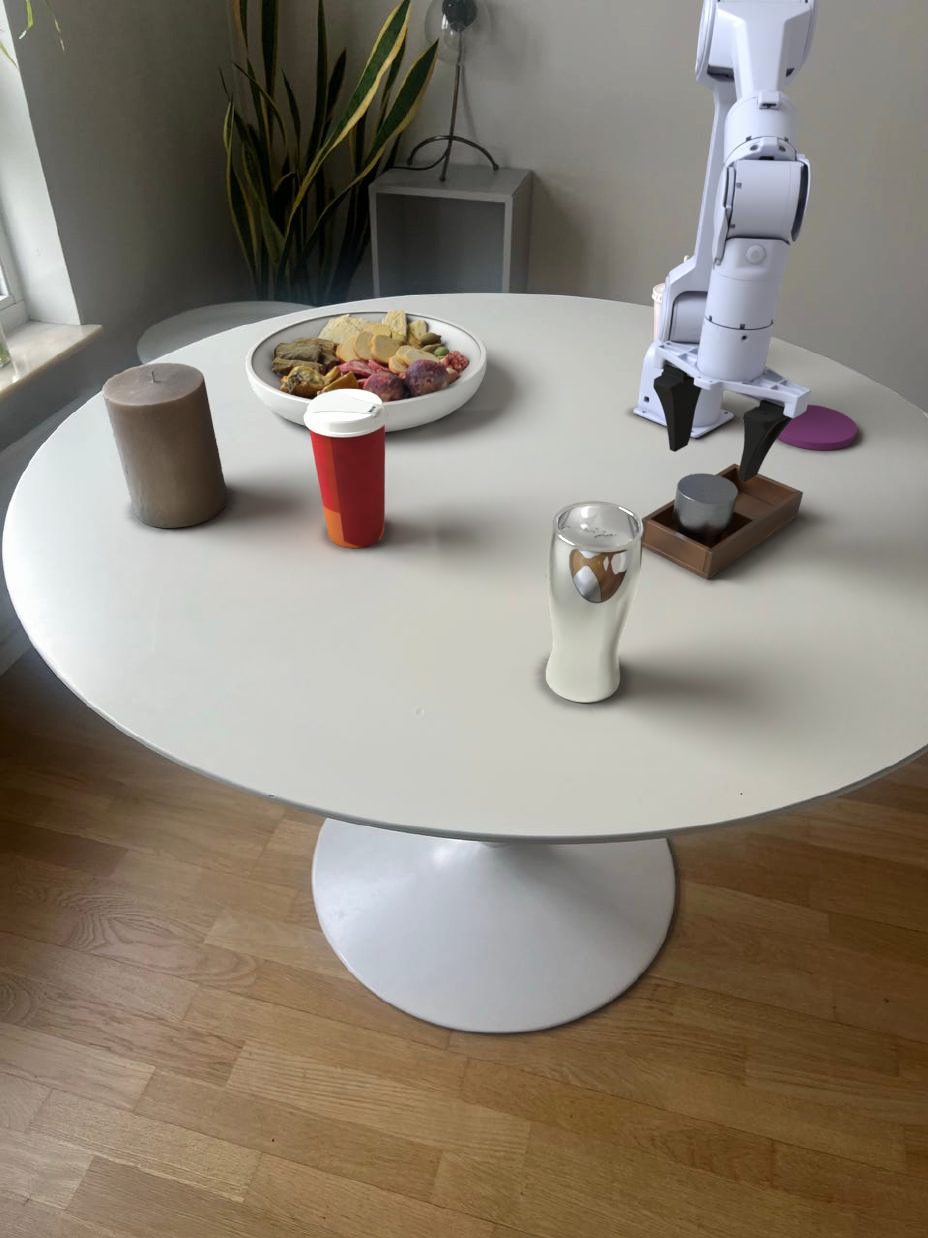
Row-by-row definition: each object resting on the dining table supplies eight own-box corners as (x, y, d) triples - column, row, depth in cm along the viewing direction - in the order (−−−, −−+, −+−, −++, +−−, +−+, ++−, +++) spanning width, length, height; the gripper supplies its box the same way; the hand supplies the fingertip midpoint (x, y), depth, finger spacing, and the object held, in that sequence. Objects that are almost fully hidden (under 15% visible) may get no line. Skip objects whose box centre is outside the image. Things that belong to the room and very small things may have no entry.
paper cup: (406, 520, 96) (400, 392, 87) (376, 560, 90) (367, 428, 81) (336, 506, 98) (324, 381, 89) (303, 545, 92) (286, 415, 83)
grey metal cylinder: (657, 540, 92) (665, 487, 88) (691, 519, 95) (700, 467, 91) (704, 564, 89) (715, 510, 85) (738, 541, 92) (749, 488, 88)
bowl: (206, 386, 121) (195, 327, 116) (387, 327, 136) (385, 272, 131) (345, 472, 103) (339, 406, 98) (534, 393, 119) (537, 333, 114)
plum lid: (751, 429, 111) (752, 421, 110) (795, 403, 116) (797, 396, 116) (827, 459, 105) (829, 451, 105) (870, 430, 111) (873, 423, 110)
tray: (638, 544, 92) (641, 518, 90) (729, 487, 101) (734, 462, 99) (707, 579, 87) (712, 553, 86) (797, 517, 96) (803, 491, 94)
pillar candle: (245, 504, 98) (222, 369, 89) (163, 541, 93) (129, 401, 83) (196, 471, 103) (169, 341, 94) (115, 504, 98) (78, 369, 89)
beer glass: (534, 652, 79) (543, 501, 70) (615, 648, 80) (634, 497, 70) (546, 710, 74) (558, 553, 64) (633, 704, 74) (657, 548, 65)
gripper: (640, 306, 80) (623, 448, 88) (790, 355, 71) (756, 507, 80) (689, 286, 83) (668, 424, 92) (837, 331, 75) (799, 478, 84)
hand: (712, 461), depth 86 cm, fingers open, 7 cm apart
